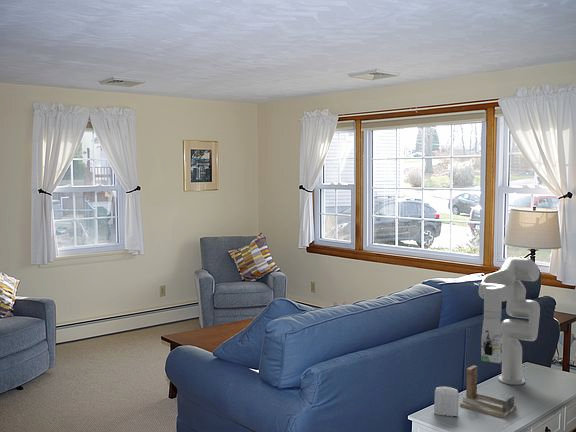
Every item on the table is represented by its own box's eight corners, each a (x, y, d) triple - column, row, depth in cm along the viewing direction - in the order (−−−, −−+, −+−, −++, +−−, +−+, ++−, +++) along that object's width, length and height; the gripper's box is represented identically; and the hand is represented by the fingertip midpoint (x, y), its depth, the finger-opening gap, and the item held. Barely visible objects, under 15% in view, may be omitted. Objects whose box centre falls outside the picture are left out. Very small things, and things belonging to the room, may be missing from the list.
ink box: (502, 360, 278) (503, 335, 277) (500, 363, 273) (500, 337, 273) (483, 358, 282) (483, 332, 281) (480, 360, 278) (481, 335, 277)
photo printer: (458, 414, 269) (458, 386, 268) (458, 417, 265) (458, 390, 264) (434, 411, 272) (434, 384, 271) (433, 415, 268) (434, 387, 267)
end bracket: (472, 396, 285) (473, 365, 283) (476, 397, 283) (477, 366, 282) (466, 400, 280) (466, 368, 279) (470, 401, 279) (470, 369, 277)
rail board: (474, 397, 288) (474, 383, 288) (516, 408, 275) (516, 394, 274) (460, 405, 278) (460, 391, 277) (502, 417, 264) (503, 403, 264)
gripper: (493, 310, 285) (492, 347, 286) (475, 316, 273) (475, 355, 274) (508, 312, 280) (507, 351, 281) (491, 318, 268) (490, 359, 269)
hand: (491, 352), depth 277 cm, fingers closed on ink box, 6 cm apart
